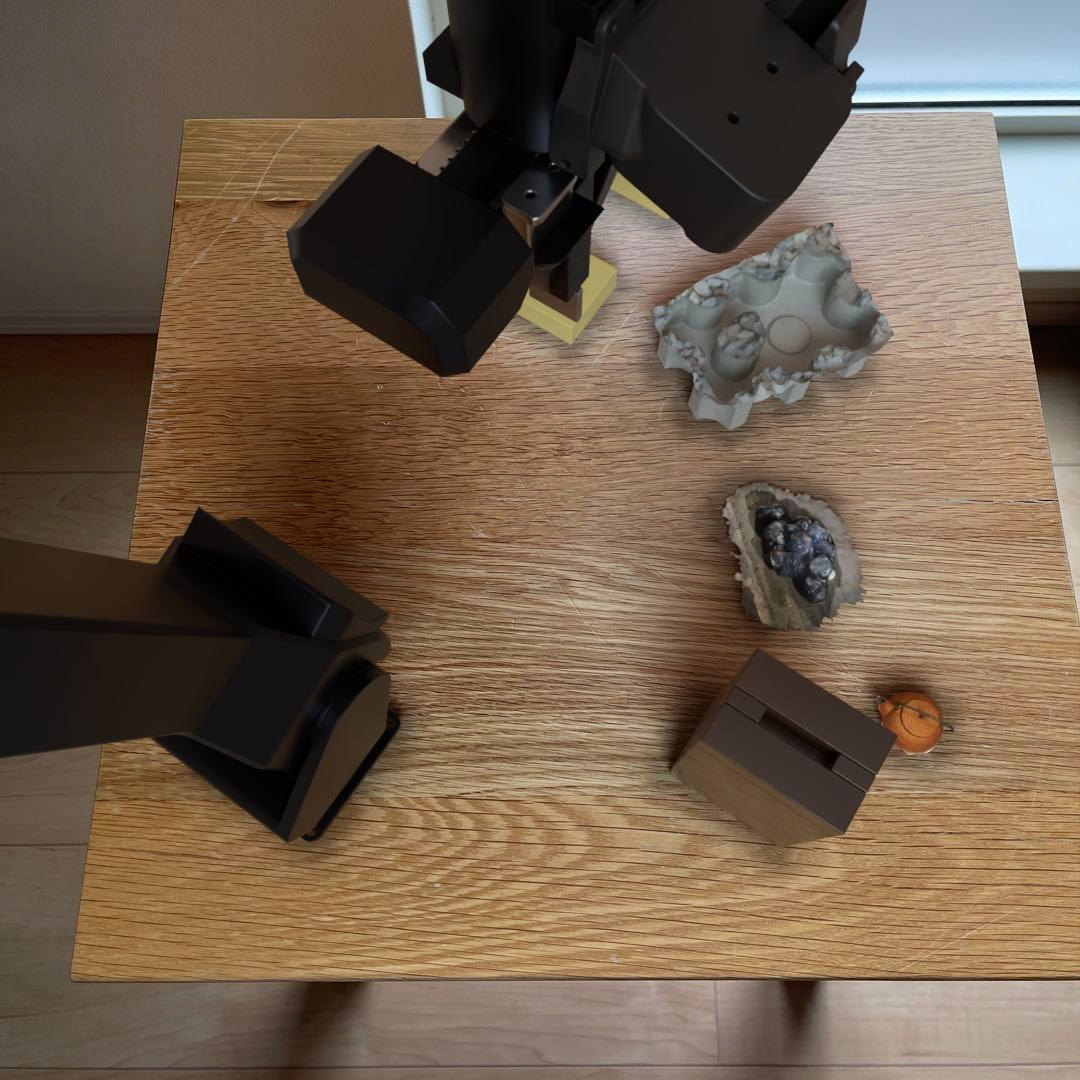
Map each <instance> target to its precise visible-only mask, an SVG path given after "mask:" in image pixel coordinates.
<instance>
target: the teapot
mask: <svg viewBox="0 0 1080 1080" xmlns="http://www.w3.org/2000/svg"><path fill="white" fill-rule="evenodd" d="M875 700H876V702H877V709H878V711H879V713H880V715H881V722H880V724H881V725H882V726H884V727H886V728H887V729H889V730H890V731H892V732H894V733H895V734H897V735H898V738H897V740H896V741H895V743H894V745H893V747H895V748H898V749H900V750H902V751H903V752H904V753H905V754H906V755H908V756H913V755H922V754H928V753H930V752H931V751H932V750H933V749H934V748H935V747H936V746H937V745H938V743H939V742H940V740H941V739H942V736H943V733H944V732H946V733H954V732H955V728H954V726H952V725H951V724H948V723H947V722H946V721H944V717H943V714H942V712H941V711H942V710H940V708H939V707H938V705H937V704H936V703H935V702H934V701H933V699H931V698H929V697H928V696H926V695H924V694H922V693H918V692H915V691H904V692H903V691H902V692H899V693H897V694H894V695H892V696H891V697H890V698H889V699H888V698H886V697H885V696H880V695H877V696H876V699H875ZM944 726H945V727H946V728H948V729H944Z"/></svg>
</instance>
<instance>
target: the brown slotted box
mask: <svg viewBox="0 0 1080 1080" xmlns="http://www.w3.org/2000/svg"><path fill="white" fill-rule="evenodd" d="M897 738H898V735H897V734H895V733H894V732H892V731H890V730H889V729H887V728H886V727H884V726H882V725H881V723H879V722H877V721H876V720H875V719H873V718H872V717H870V716H868V715H867V714H865V713H863V712H862V711H860V710H858V709H857V708H856V707H853V706H852V705H851V704H849V703H847V702H846V701H844V700H842V699H841V698H840V697H838V696H836V695H835V694H834V693H832V692H831V691H828V690H827V689H825V688H824V687H822V686H820V685H819V684H817V683H816V682H814V681H812V680H811V679H809V678H807V677H806V676H804V675H803V674H801V673H799V672H798V671H796V670H795V669H793V668H792V667H790V666H788V665H787V664H785V663H783V662H782V661H781V660H779V659H778V658H775V657H774V656H772V655H771V654H769V653H768V652H766V651H765V650H763V649H761V648H760V647H756V648H755V649H754V650H753V651H752V653H751V654H750V655H749V656H748V658H747V659H746V660H745V661H744V662H743V664H742V665H741V666H740V668H739V669H738V670H737V671H736V672H735V674H734V675H733V676H732V677H731V678H730V680H729V681H728V682H727V683H726V685H725V686H724V687H723V688H722V689H721V690H720V692H719V693H718V694H717V696H716V697H715V698H714V699H713V700H712V703H711V704H710V705H709V707H708V708H707V710H706V712H705V713H704V715H703V717H702V719H701V720H700V722H699V723H698V725H697V727H696V728H695V730H694V731H693V733H692V734H691V736H690V738H689V739H688V741H687V742H686V744H685V746H684V747H683V749H682V751H681V752H680V753H679V756H678V757H677V759H676V760H675V762H674V763H673V765H672V766H671V768H670V770H669V773H668V774H669V775H671V776H672V777H673V778H675V779H677V780H678V781H679V782H681V783H683V784H684V785H685V786H687V787H689V788H690V789H691V790H693V791H694V792H696V793H697V794H699V795H700V796H702V797H703V798H705V799H706V800H708V801H709V802H711V803H712V804H713V805H715V806H716V807H718V808H719V809H721V810H723V811H724V812H725V813H727V814H729V816H731V817H733V818H735V819H736V820H737V821H738V822H740V823H742V824H743V825H744V826H746V827H748V828H750V829H751V830H752V831H753V832H755V833H757V834H758V835H760V836H761V837H763V838H764V839H765V840H767V841H768V842H770V843H771V844H773V845H774V846H776V847H777V848H783V847H784V848H785V847H788V846H794V845H797V844H804V843H809V842H814V841H819V840H824V839H829V838H833V837H840V836H844V835H845V834H846V832H847V831H848V829H849V827H850V825H851V823H852V822H853V820H854V818H855V816H856V815H857V812H858V810H859V809H860V807H861V806H862V804H863V802H864V800H865V798H866V796H867V793H869V791H870V789H871V787H872V785H873V783H874V781H875V780H876V776H877V775H878V774H879V773H880V770H881V769H882V767H883V765H884V764H885V762H886V759H887V758H888V756H889V754H890V752H891V751H892V749H893V747H894V746H893V745H894V743H895V741H896V740H897Z"/></svg>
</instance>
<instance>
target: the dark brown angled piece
mask: <svg viewBox="0 0 1080 1080" xmlns="http://www.w3.org/2000/svg"><path fill="white" fill-rule="evenodd" d="M572 191H574V192H576V193H578V194H580V195H582V196H583V197H585V198H587V199H589V200H591V201H593V192H594V174H593V175H592V176H591V178H590V179H589V180H588V181H585V180H583V179H581V178H579V177H577V180H576V182H575V184H574V186H573V187H572ZM592 229H593V227H592V226H591V227H590V228H589V229H588V231H587V232H586V233H585V234H584V236H583V237H582V238H581V239H580V241H579V242H578V243H577V244H576V246H575V247H574V248H573V249H572V250H571V252H570V253H569V254H568V255H567V257H566V258H565V259H564V260H563V261H562V262H561V263H560V264H559V269H558V272H557V276H556V279H555V283H554V286H553V287H552V289H551V290H550V291H549V292H548V293H545V292H543V291H541V290H540V289H538V288H536V287H534V286H533V285H531V284H530V287H529V296H530V297H532V298H534V299H536V300H537V301H539V302H541V303H543V304H544V305H546V306H548V307H550V308H551V309H553V310H555V311H557V312H558V313H560V314H562V315H564V316H565V317H567V318H569V319H571V320H572V321H574V322H576V323H577V322H578V321H579V319H580V318H581V317H582V297H583V288H582V287H580V286H581V285H582V284H583V283H584V281H585V280H586V279H587V278H588V276H589V266H590V254H591V247H592Z"/></svg>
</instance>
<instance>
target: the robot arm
mask: <svg viewBox="0 0 1080 1080" xmlns="http://www.w3.org/2000/svg"><path fill="white" fill-rule="evenodd" d="M867 3H868V0H446V7H447V16H448V23H449V24H448V25H447V26H446V27H445V28H444V29H443V30H442V31H441V32H440V33H439V35H437V36H436V37H435V39H433V41H432V42H430V44H429V45H428V46H427V47H426V48H425V49H424V50H423V51H422V53H421V54H422V55H421V56H422V60H423V61H422V62H423V68H424V72H425V79H426V82H428V83H430V84H432V85H433V86H435V87H438V88H439V89H441V90H443V91H445V92H446V93H449V94H451V96H452V95H453V96H454V97H456V98H458V99H460V100H462V102H463V108H464V109H463V110H462V111H461V112H460V113H459V115H458V116H457V117H456V118H455V119H454V120H453V121H452V122H451V123H450V125H448V127H446V129H444V131H443V132H442V133H441V134H440V135H439V136H438V137H437V139H435V140H434V142H433V143H432V144H431V145H430V146H429V147H428V148H427V150H425V151H424V152H423V154H422V155H421V156H420V157H419V158H418V159H417V161H416V162H415V163H412V162H411V161H409V160H407V159H406V158H404V157H402V156H400V155H398V154H396V153H394V152H393V151H391V150H389V149H387V148H386V147H384V146H382V145H380V144H376V145H374V146H372V147H371V148H368V149H366V150H364V151H362V152H360V153H358V154H357V155H356V157H354V159H352V161H351V162H350V163H349V164H348V165H347V166H346V167H345V168H344V169H343V170H342V171H341V173H340V174H339V175H338V176H337V177H336V178H335V179H334V180H333V181H332V183H330V185H329V186H328V187H327V188H325V190H324V191H323V192H322V193H321V194H320V195H319V196H318V197H317V198H316V199H315V200H314V201H313V203H311V205H310V206H309V207H308V208H307V209H306V210H305V211H304V212H303V213H302V215H300V216H299V218H298V219H297V220H296V221H295V222H294V223H293V224H292V225H291V226H290V227H289V228H288V229H287V230H286V231H285V236H286V242H287V248H288V253H289V259H290V262H291V265H292V267H293V270H294V272H295V274H296V277H297V279H298V281H299V284H300V286H301V288H302V291H303V293H304V295H305V296H307V297H309V298H310V299H312V300H314V301H315V302H317V303H319V304H320V305H322V306H324V307H325V308H326V309H329V310H330V311H332V312H333V313H335V314H337V315H338V316H340V317H341V318H343V319H345V320H347V321H348V322H350V323H351V324H353V325H355V327H356V326H357V327H358V328H360V329H362V330H363V331H364V332H366V333H368V334H370V335H371V336H373V337H374V338H376V339H378V340H380V341H381V342H383V343H384V344H386V345H387V346H389V347H391V348H393V349H394V350H396V351H398V352H399V353H401V354H403V355H404V356H406V357H407V358H408V359H410V360H413V361H414V362H416V363H417V364H419V365H420V366H422V367H424V368H425V369H427V370H429V371H430V372H432V373H433V374H435V375H437V376H439V377H440V378H447V377H453V376H458V375H465V374H470V373H471V371H472V370H473V369H474V367H475V366H476V365H477V364H478V363H479V362H480V360H481V359H482V358H483V356H484V355H485V354H486V353H487V351H488V350H489V349H490V348H491V346H492V345H493V344H494V343H495V341H496V340H497V339H498V338H499V337H500V335H501V334H502V332H503V331H504V330H505V329H506V328H507V327H508V325H509V324H510V323H511V321H512V320H513V319H514V318H515V316H516V315H518V314H517V313H518V311H519V310H520V308H521V306H522V304H523V301H524V299H525V296H526V294H527V292H528V289H529V287H530V284H531V285H533V286H534V287H536V288H538V289H540V290H541V291H543V292H545V293H548V292H549V291H550V290H551V289H552V287H553V286H554V283H555V279H556V276H557V272H558V269H559V264H560V263H561V262H562V261H563V260H564V259H565V258H566V257H567V255H568V254H569V253H570V252H571V250H572V249H573V248H574V247H575V246H576V244H577V243H578V242H579V241H580V239H581V238H582V237H583V236H584V234H585V233H586V232H587V231H588V229H589V228H590V227H591V226H592V228H593V227H594V225H595V223H596V221H597V220H598V218H599V217H600V216H601V215H602V213H603V212H604V211H605V207H604V206H603V205H604V203H605V201H606V198H607V197H608V194H609V193H610V191H611V189H610V188H611V185H612V183H613V181H614V179H615V177H616V174H617V172H619V173H620V174H621V175H622V176H623V177H624V178H625V179H626V180H627V181H629V182H630V183H631V184H632V185H633V186H634V187H636V188H637V189H638V190H639V191H640V192H641V193H643V194H644V195H645V196H646V197H647V198H648V199H650V200H651V201H652V202H653V203H654V204H655V205H657V206H658V207H659V208H660V209H661V210H662V211H664V212H665V213H666V214H667V215H668V216H669V217H670V218H671V219H672V220H673V221H674V222H675V223H676V224H678V225H679V226H680V227H681V228H682V230H683V233H684V235H685V237H686V238H687V239H688V240H690V242H692V243H693V244H694V245H695V246H697V247H698V248H700V249H701V250H702V251H706V252H707V253H710V254H714V255H715V254H716V255H723V254H728V253H730V252H732V251H733V252H734V250H736V249H737V248H738V247H739V246H740V245H741V244H742V243H743V242H745V240H747V238H749V237H750V236H751V235H752V234H753V233H754V231H756V230H757V229H759V227H760V226H761V225H763V223H764V222H765V221H767V219H769V218H770V216H771V215H773V214H774V213H775V212H776V211H777V210H778V209H779V208H780V207H781V206H782V205H783V204H785V202H786V201H788V199H790V197H792V195H793V194H795V192H796V191H797V190H798V188H799V187H800V186H801V184H802V182H803V181H804V180H805V179H806V177H807V176H808V175H809V173H810V172H811V171H812V169H813V167H814V166H815V165H816V164H817V162H818V161H819V160H820V158H821V156H823V154H824V153H825V151H826V150H827V148H828V147H829V146H830V144H831V143H832V141H833V140H834V139H835V138H836V136H837V134H838V133H839V132H840V131H841V129H842V128H843V127H844V125H845V123H846V122H847V121H848V119H849V117H850V115H851V112H852V108H853V96H854V95H855V93H856V91H857V86H858V85H857V82H858V81H859V79H860V78H861V76H862V75H863V74H864V72H865V71H866V69H865V68H864V67H863V66H862V65H861V64H860V63H859V62H858V61H856V60H853V61H852V62H851V63H850V64H849V65H848V62H849V55H850V54H851V53H852V51H853V50H854V48H856V45H857V44H858V43H859V39H860V36H861V32H862V27H863V21H864V18H865V13H866V8H867ZM593 174H594V192H593V201H591V200H589V199H587V198H585V197H583V196H582V195H580V194H578V193H576V192H574V191H572V187H573V186H574V184H575V182H576V180H577V177H579V178H581V179H583V180H585V181H588V180H589V179H590V178H591V176H592V175H593ZM389 618H390V613H389V612H387V611H386V610H384V609H383V608H381V607H379V606H378V605H377V604H375V603H374V602H373V601H371V600H370V599H368V598H366V597H365V596H364V595H363V594H361V593H360V592H358V591H356V590H355V589H353V588H352V587H351V586H349V585H347V584H346V583H344V582H343V581H342V580H340V579H339V578H338V577H336V576H335V575H333V574H332V573H330V572H329V571H327V570H326V569H324V568H323V567H321V566H319V564H317V563H316V562H314V561H312V560H311V559H309V558H308V557H307V556H305V555H303V554H302V553H300V552H299V551H297V550H296V549H295V548H293V547H292V546H291V545H289V544H288V543H286V542H284V541H283V540H282V539H280V538H279V537H277V536H275V535H274V534H273V533H271V532H270V531H268V530H266V529H265V528H264V527H263V526H262V525H259V524H258V523H257V522H255V521H254V520H252V519H251V518H249V517H248V516H242V517H239V518H235V519H231V520H229V519H219V518H216V517H215V515H214V516H213V514H211V513H209V512H208V511H206V510H205V509H204V508H202V507H201V506H198V507H197V508H196V510H195V512H194V514H193V516H192V518H191V520H190V522H189V524H188V526H187V528H186V529H185V531H184V534H182V535H178V536H175V537H173V539H172V540H171V542H170V543H169V545H168V546H167V548H166V550H165V551H164V553H163V554H162V555H161V557H160V559H159V561H157V563H156V562H155V563H153V562H152V563H150V562H143V561H138V560H134V559H127V558H121V557H115V556H110V555H104V554H99V553H94V552H93V553H92V552H88V551H81V550H76V549H71V548H64V547H59V546H52V545H49V544H41V543H36V542H30V541H25V540H18V539H14V538H13V539H12V538H8V537H1V536H0V760H2V759H8V758H16V757H23V756H29V755H37V754H45V753H51V752H52V753H53V752H59V751H64V750H72V749H73V750H74V749H80V748H87V747H88V748H89V747H93V746H94V747H95V746H101V745H109V744H117V743H122V742H129V741H138V740H145V739H150V740H152V741H153V742H154V743H156V744H157V745H158V746H159V747H161V748H162V749H163V750H165V751H166V752H167V753H169V754H170V755H171V756H173V757H174V758H175V759H176V760H178V761H179V762H180V763H182V764H183V765H184V766H185V767H186V768H187V769H189V770H190V771H192V772H193V773H194V774H195V775H197V776H198V777H200V778H201V779H202V780H203V781H205V782H206V783H207V784H209V785H210V786H211V787H212V788H214V789H215V790H216V791H218V792H219V793H220V794H222V795H223V796H224V797H225V798H227V799H228V800H229V801H231V802H232V803H233V804H235V805H236V806H238V807H239V808H240V809H241V810H242V811H244V812H245V813H247V814H248V815H249V816H251V817H252V818H253V819H254V820H256V821H257V822H258V823H259V824H261V825H262V826H263V827H265V828H266V829H267V830H268V831H270V832H271V833H273V834H274V835H275V836H277V837H278V838H279V839H280V840H282V841H283V842H284V843H285V844H290V843H292V842H294V841H296V840H298V839H299V838H300V839H302V840H303V841H306V842H308V843H316V842H319V841H320V840H321V839H323V837H324V836H325V834H326V833H327V832H328V830H329V829H330V828H331V826H332V825H333V823H334V822H335V821H336V819H337V818H338V816H339V815H340V814H341V812H342V811H343V810H344V808H345V807H346V806H347V804H348V803H349V801H350V800H351V798H352V797H353V796H354V795H355V794H356V792H357V791H358V789H360V788H359V787H361V785H362V784H363V782H364V781H365V779H366V778H367V776H368V775H369V774H370V772H371V771H372V770H373V768H374V767H375V765H376V764H377V763H378V761H379V760H380V758H381V757H382V756H383V755H384V753H385V752H386V750H388V748H389V746H390V745H391V744H392V742H394V740H395V739H396V737H397V736H398V734H399V733H400V731H401V729H402V721H401V718H400V717H399V716H398V715H397V714H396V713H395V712H393V711H392V710H390V708H389V704H390V703H389V702H390V693H391V685H392V676H391V674H390V673H389V672H387V671H386V670H385V669H384V668H382V667H381V666H379V665H378V662H383V661H384V660H385V659H386V658H387V656H389V654H390V653H391V652H392V641H391V638H390V635H389V634H387V633H386V632H385V631H384V630H382V629H381V628H382V627H383V626H384V624H385V623H386V622H387V621H388V620H389ZM389 720H390V721H391V720H392V721H394V725H393V727H391V728H387V722H388V721H389ZM315 827H316V832H315V833H314V834H313V835H310V834H309V833H311V831H313V829H314V828H315Z"/></svg>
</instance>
